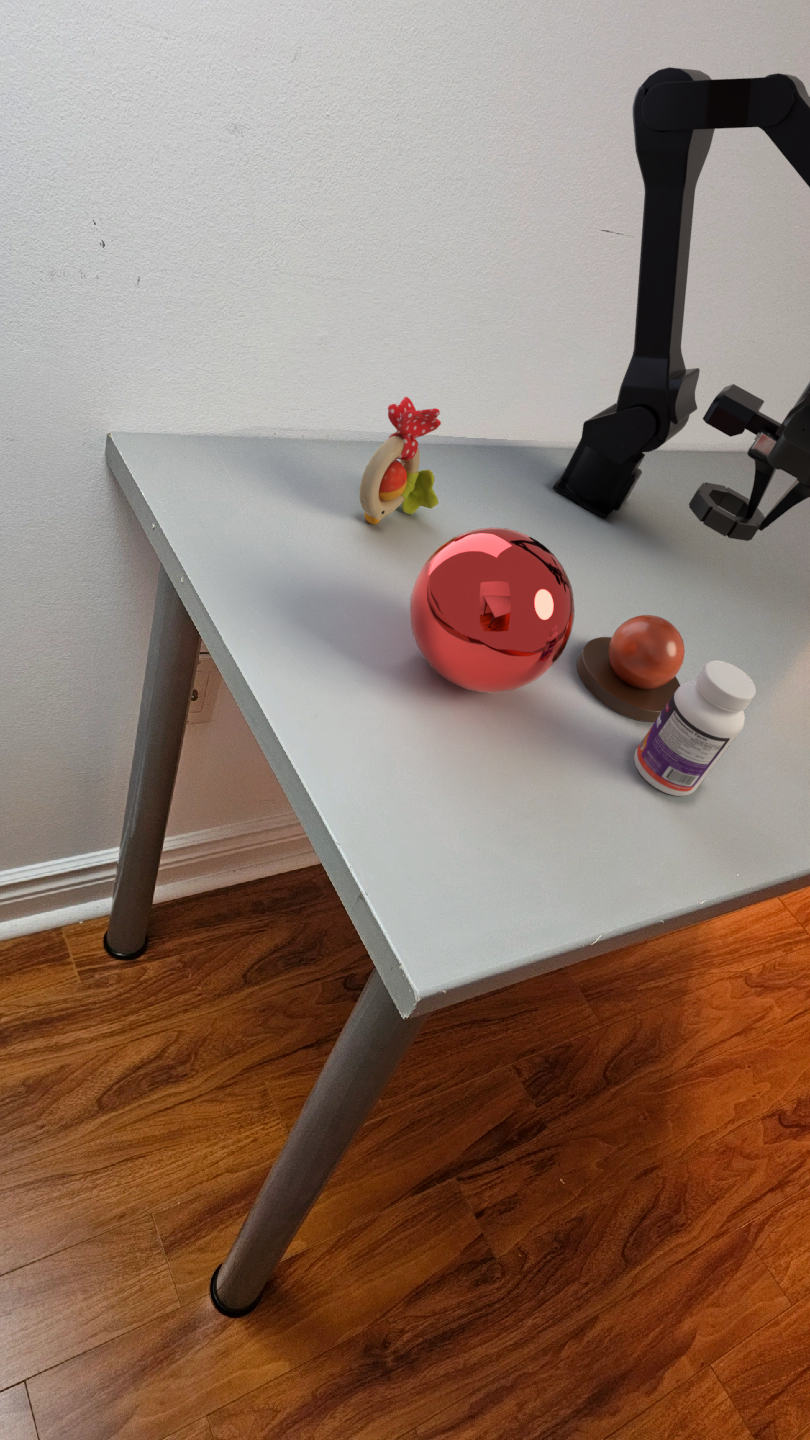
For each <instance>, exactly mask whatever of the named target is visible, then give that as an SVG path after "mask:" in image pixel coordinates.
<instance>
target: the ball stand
mask: <svg viewBox="0 0 810 1440" xmlns="http://www.w3.org/2000/svg"><path fill="white" fill-rule="evenodd" d="M684 659H685V643H684V639H683V637H682V635H681V633H680V632H679V630H678V629H677V627H676V626H675V625H673V623H671V622H670V621H669V620H667V619H666V618H663V617H661V616H659V615H653V614H642V615H637V616H633V617H631V618H629V619H627V620H626V621H624V622H623V623H621V625H619V626H618V627H617V628H616V630H615V631H614V633H613V635H612V636H599V637H596V638H593V639H591V640H589V641H588V642H587V643H586V644H585V645H584V647H583V648H582V650H581V652H580V653H579V655H578V657H577V660H576V670H577V673H578V677H579V678H580V681H581V682H582V684H583V685H584V686H585V688H586V689H587V690H588V692H589V693H591V695H592V696H593V697H595V698H596V699H597V700H598V701H599V702H600V703H602V704H603V705H604V706H605V707H607V708H609V709H610V710H612V711H614V712H616V713H618V714H620V715H622V716H625V717H627V718H630V719H632V720H636V721H640V722H648V723H654V722H655V721H656V719H657V718H658V717H659V715H660V713H661V712H662V711H663V709H664V708H665V706H666V705H667V703H668V702H669V700H670V699H671V697H672V696H673V694H674V693H675V692H676V690H677V689H678V688H679V687H680V686H681V684H680V681H679V679H678V678H677V675H678V673H679V672H680V670H681V669H682V666H683V664H684Z"/></svg>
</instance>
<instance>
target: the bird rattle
mask: <svg viewBox="0 0 810 1440" xmlns="http://www.w3.org/2000/svg"><path fill="white" fill-rule="evenodd" d="M440 414H441V411H440V409H439V408H428V409H427V408H426V409H419V410H418V409H417V410H416V407H415V405H414V403H413V402H412V399H410V398H409V397H408V396H404V397H402V400H401V401H400V403H399V404H398V403H397V404H396V403H391V404H389V405H388V406H387V416H388V420H389V421H390V423H391V425H392V426H393V428H395V429H396V431H395V432H393V433H391V434H390V435H389V436H388V438H387V439H386V440H385V441H383V442H382V443H381V444H380V445H379V446H378V448H377V449H376V450H375V451H374V453H373V454H372V455H371V457H370V459H369V460H368V462H367V464H366V466H365V469H364V471H363V474H362V476H361V479H360V484H359V503H360V505H361V508H362V509H363V511H364V513H363V514H364V519H365V521H366V522H367V523H370V524H371V525H377V524H379V523H380V522H381V520H383V519H384V518H385V517H388V516H389V515H391V514H392V513H393V512H395V511H396V510H397V509H398V508H399V507H400V506H401V509H402V511H403V512H404V513H405V514H408V515H413V514H414V513H416V511H417V510H418V509H419V508H420V507H424V508H427V509H433V508H435V507H436V506H437V505H438V504H439V498H438V496H437V495H436V493H435V491H434V489H433V487H434V485H435V475H434V473H433V471H432V470H430V469H422V470H419V469H420V464H421V463H420V462H421V461H420V460H421V454H420V453H421V452H420V449H419V442H418V440H417V438H420V437H423V436H426V435H428V434H429V433H431V432H434V431H436V430H438V428H439V427H440V426H441V425H442V422H441V420H440V419H438V416H439V415H440Z"/></svg>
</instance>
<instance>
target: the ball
mask: <svg viewBox="0 0 810 1440" xmlns="http://www.w3.org/2000/svg"><path fill="white" fill-rule="evenodd" d="M409 619H410V628H411V632H412V636H413V639H414V641H415V643H416V645H417V648H418V650H419V653H420V654H421V655H422V657H423V658H424V659H425V660H426V662H427V663H428V664H429V666H430V667H431V668H432V669H433V670H434V671H435V672H436V673H437V674H439V676H441V677H442V678H444V679H446V680H447V681H448V682H450V683H452V684H454V685H456V686H458V687H460V688H462V689H466V690H468V691H469V690H470V691H473V692H477V693H487V694H488V693H489V694H494V693H505V692H510V691H514V690H516V689H517V690H518V689H519V688H522V687H525V686H528V685H529V684H532V683H533V682H535V681H537V680H538V679H539V678H540V677H542V676H543V675H544V674H545V673H547V671H549V669H551V668H552V667H553V666H554V665H555V664H556V663H557V661H559V659H560V657H561V656H562V654H563V653H564V651H565V649H566V647H567V644H568V642H569V639H570V637H571V634H572V632H573V628H574V624H575V599H574V591H573V587H572V584H571V581H570V578H569V577H568V574H567V572H566V570H565V569H564V566H563V564H561V562H560V561H559V560H558V558H557V557H556V556H555V554H554V553H553V552H552V551H551V550H550V549H549V548H548V547H546V545H544V544H543V543H541V542H540V541H539V540H537V539H535V538H533V537H532V536H530V535H528V534H526V533H523V532H520V531H518V530H515V529H514V530H513V529H510V528H505V527H493V526H491V527H490V526H489V527H480V528H474V529H470V530H468V531H465V532H462V533H460V534H458V535H455V536H452V538H450V539H448V540H446V541H445V542H444V543H443V544H441V545H440V547H438V548H437V549H436V550H435V551H434V552H433V553H432V554H431V555H430V556H429V557H428V558H427V559H426V560H425V562H424V563H423V564H422V566H421V567H420V569H419V572H418V573H417V577H416V579H415V582H414V585H413V586H412V590H411V593H410V598H409Z"/></svg>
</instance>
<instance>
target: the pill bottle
mask: <svg viewBox="0 0 810 1440" xmlns="http://www.w3.org/2000/svg"><path fill="white" fill-rule="evenodd" d="M756 693H757V689H756V685H755V683H754V681H753V680H752V678H751V677H750V676H749V675H748V674H747V673H745V672H744V671H743V670H742V669H740V668H739V667H737V666H736V665H734V664H732V663H729V662H727V661H723V660H718V659H717V660H710V661H708V662H707V663H706V664H705V665H704V666H703V668H702V669H701V670H700V671H699V673H698V675H697V677H696V679H691V680H687V681H685V682H683V683H682V684H680V687H679V688H678V689H677V690H676V692H675V693H674V694H673V696H672V697H671V699H670V700H669V702H668V703H667V705H666V706H665V708H664V709H663V711H662V712H661V713H660V715H659V717H658V718H657V719H656V721H655V722H653V724H652V725H651V727H650V728H649V730H648V731H647V733H646V734H645V736H644V737H643V739H642V740H641V741H640V742H639V744H638V746H637V748H636V749H635V752H634V755H633V757H634V758H633V759H634V765H635V767H636V768H637V772H639V774H640V775H641V776H642V777H643V779H644V780H645V781H646V782H647V783H649V784H650V785H651V786H652V787H654V788H655V789H657V790H659V791H661V792H663V793H665V794H668V795H671V796H676V797H683V796H688V795H691V794H692V793H694V792H695V791H696V790H697V789H698V788H699V786H700V785H701V784H702V783H703V782H704V780H705V779H706V778H707V776H708V775H709V774H710V772H711V771H712V770H713V768H714V767H715V766H716V765H717V763H718V762H719V760H720V759H721V758H722V756H723V755H724V753H725V752H726V751H727V750H728V748H729V747H730V746H731V744H732V743H733V742H734V741H735V739H736V738H737V737H738V735H739V734H740V732H741V731H742V729H743V728H744V726H745V721H746V719H745V716H746V715H745V712H744V710H745V709H746V708H747V707H748V706H749V705H750V703H751V701H752V700H753V699H754V697H755V696H756Z"/></svg>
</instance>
